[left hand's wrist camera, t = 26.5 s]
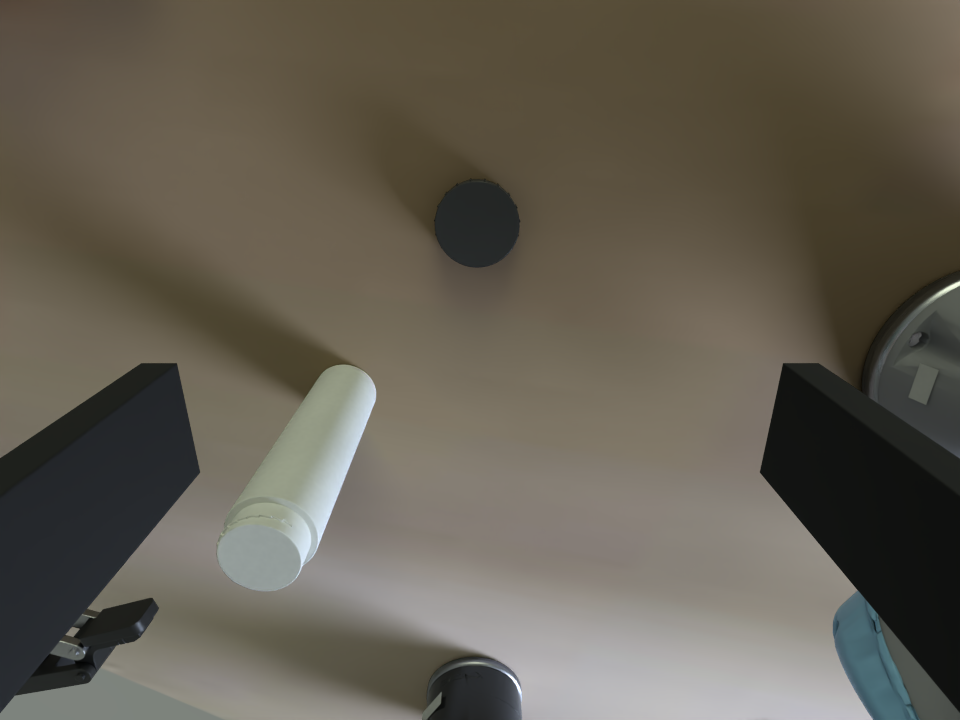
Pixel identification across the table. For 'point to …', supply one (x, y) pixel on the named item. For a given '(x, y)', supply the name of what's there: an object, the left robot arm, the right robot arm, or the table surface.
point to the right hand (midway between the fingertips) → (111, 558)
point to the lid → (477, 223)
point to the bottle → (297, 484)
